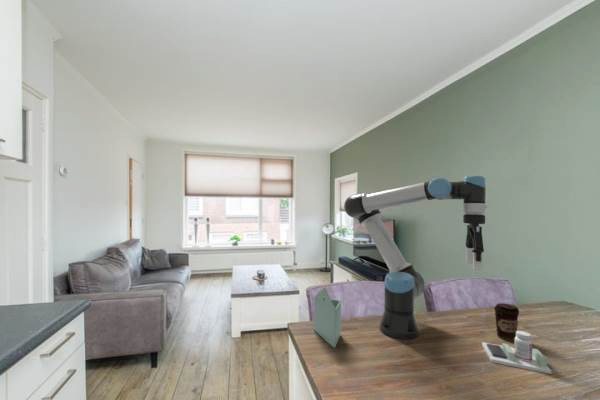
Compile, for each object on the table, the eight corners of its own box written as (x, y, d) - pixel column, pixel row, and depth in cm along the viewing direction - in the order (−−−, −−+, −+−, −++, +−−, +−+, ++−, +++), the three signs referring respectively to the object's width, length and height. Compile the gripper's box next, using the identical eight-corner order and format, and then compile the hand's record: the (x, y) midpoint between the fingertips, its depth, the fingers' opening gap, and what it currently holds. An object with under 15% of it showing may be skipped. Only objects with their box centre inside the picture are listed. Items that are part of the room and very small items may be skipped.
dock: (491, 362, 92) (491, 351, 92) (481, 344, 104) (481, 335, 104) (551, 374, 86) (551, 362, 86) (534, 354, 98) (534, 344, 98)
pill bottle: (533, 363, 90) (533, 337, 90) (515, 358, 93) (515, 333, 93) (531, 357, 94) (531, 332, 94) (513, 353, 97) (513, 328, 97)
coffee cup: (525, 344, 106) (525, 310, 106) (500, 341, 107) (501, 308, 108) (512, 334, 114) (512, 303, 115) (490, 332, 116) (490, 301, 116)
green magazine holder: (352, 344, 102) (353, 290, 102) (333, 348, 98) (335, 292, 99) (329, 326, 117) (330, 280, 117) (313, 329, 113) (314, 281, 114)
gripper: (493, 214, 98) (493, 273, 97) (477, 214, 121) (477, 262, 120) (469, 213, 101) (469, 271, 100) (458, 213, 124) (458, 260, 123)
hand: (473, 266), depth 110 cm, fingers open, 13 cm apart
